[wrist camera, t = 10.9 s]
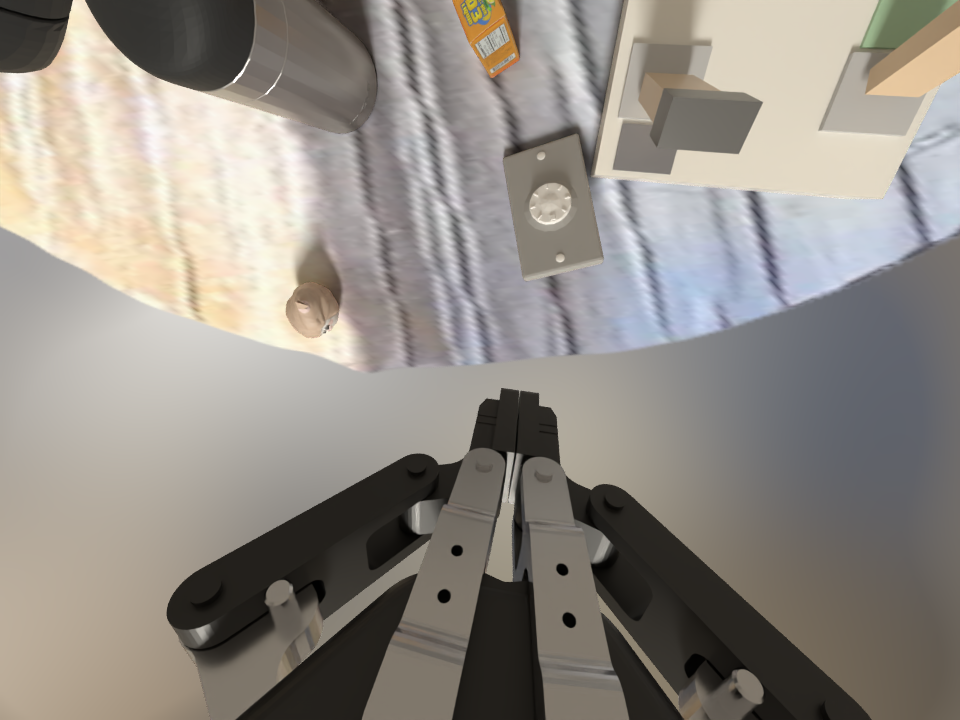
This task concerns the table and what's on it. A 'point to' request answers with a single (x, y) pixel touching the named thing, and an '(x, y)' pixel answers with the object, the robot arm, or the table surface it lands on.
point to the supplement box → (488, 33)
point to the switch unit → (769, 92)
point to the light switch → (552, 209)
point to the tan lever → (920, 59)
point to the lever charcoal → (696, 114)
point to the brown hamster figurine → (312, 310)
